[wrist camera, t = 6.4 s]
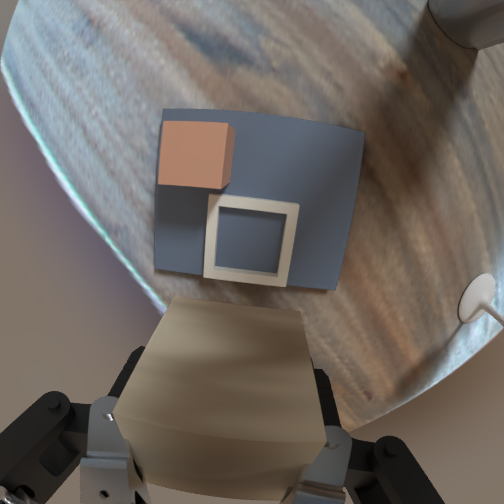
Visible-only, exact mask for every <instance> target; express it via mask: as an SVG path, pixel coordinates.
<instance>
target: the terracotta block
mask: <svg viewBox="0 0 504 504" xmlns="http://www.w3.org/2000/svg"><path fill="white" fill-rule="evenodd" d="M235 133H236V131H235V130H234V129H233V128H232V127H231V126H230V125H229V124H228V123H219V122H199V121H163V130H162V140H161V150H160V162H159V176H158V184H164V185H179V186H192V187H204V188H215V189H222V188H223V187H224V186H226V185H227V184H228V183H230V177H231V168H232V159H233V150H234V141H235Z"/></svg>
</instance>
